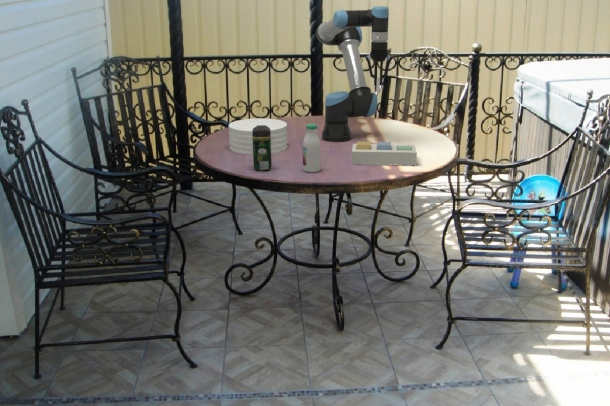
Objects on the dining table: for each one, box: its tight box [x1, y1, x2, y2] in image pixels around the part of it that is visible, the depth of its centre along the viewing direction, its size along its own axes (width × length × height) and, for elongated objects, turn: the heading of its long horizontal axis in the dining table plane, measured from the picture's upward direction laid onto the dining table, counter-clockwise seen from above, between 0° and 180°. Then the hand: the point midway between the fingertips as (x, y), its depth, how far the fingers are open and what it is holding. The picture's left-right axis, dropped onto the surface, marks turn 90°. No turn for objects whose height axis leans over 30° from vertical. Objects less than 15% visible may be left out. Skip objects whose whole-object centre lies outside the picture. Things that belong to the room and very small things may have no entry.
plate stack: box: [228, 117, 288, 156], centre depth 320 cm, size 28×28×12 cm
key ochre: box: [356, 141, 372, 150], centre depth 296 cm, size 6×6×4 cm
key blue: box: [376, 141, 392, 150], centre depth 295 cm, size 6×6×4 cm
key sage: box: [397, 146, 412, 150], centre depth 295 cm, size 6×6×4 cm
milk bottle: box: [302, 123, 322, 173], centre depth 281 cm, size 8×8×20 cm
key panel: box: [351, 143, 418, 166], centre depth 296 cm, size 28×14×6 cm, turn 85°
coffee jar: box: [252, 125, 273, 172], centre depth 284 cm, size 10×8×19 cm
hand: (377, 92), depth 313 cm, fingers closed
